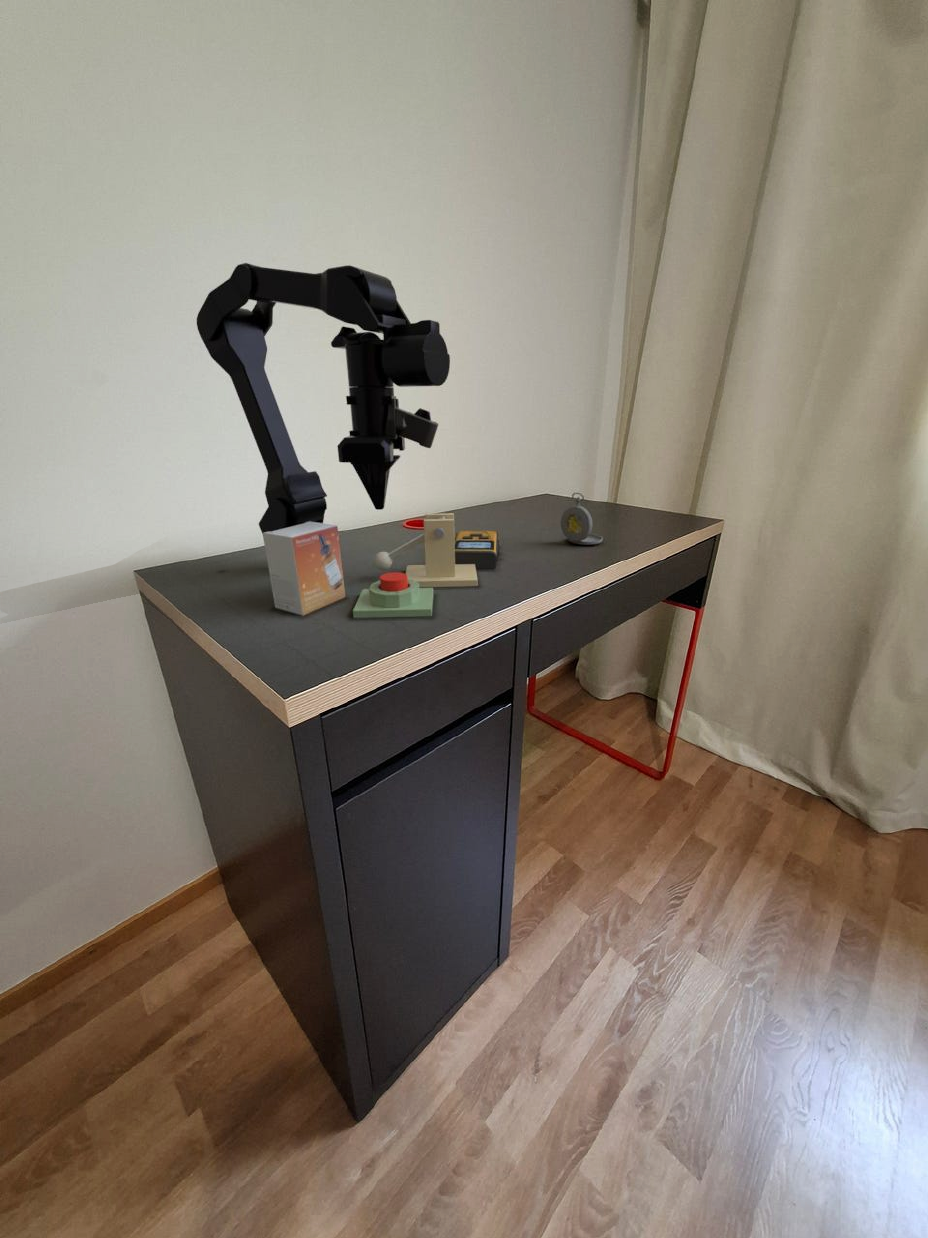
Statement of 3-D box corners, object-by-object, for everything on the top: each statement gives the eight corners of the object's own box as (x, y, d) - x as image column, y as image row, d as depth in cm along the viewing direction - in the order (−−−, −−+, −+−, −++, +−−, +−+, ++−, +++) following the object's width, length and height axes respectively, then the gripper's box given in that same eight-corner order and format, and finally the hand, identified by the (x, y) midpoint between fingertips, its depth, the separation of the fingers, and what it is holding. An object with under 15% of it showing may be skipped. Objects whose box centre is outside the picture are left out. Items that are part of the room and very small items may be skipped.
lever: (379, 575, 74) (369, 560, 73) (381, 569, 77) (371, 554, 76) (452, 534, 72) (442, 518, 71) (452, 530, 75) (443, 514, 74)
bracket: (403, 588, 72) (399, 523, 69) (407, 572, 80) (404, 512, 76) (477, 587, 73) (477, 522, 69) (474, 570, 80) (474, 510, 76)
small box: (302, 617, 63) (290, 537, 59) (274, 609, 66) (260, 532, 62) (347, 598, 69) (338, 524, 65) (319, 591, 72) (309, 520, 68)
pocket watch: (601, 538, 98) (607, 487, 94) (602, 550, 91) (608, 495, 87) (560, 537, 100) (563, 486, 96) (558, 547, 92) (561, 494, 88)
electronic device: (498, 546, 94) (499, 529, 93) (498, 571, 80) (498, 551, 79) (455, 546, 95) (455, 528, 94) (447, 570, 81) (447, 550, 79)
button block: (353, 619, 62) (351, 597, 61) (363, 597, 70) (361, 577, 68) (431, 617, 63) (430, 595, 61) (433, 595, 70) (432, 575, 69)
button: (379, 593, 63) (378, 581, 63) (382, 584, 67) (381, 572, 66) (407, 593, 63) (406, 580, 63) (409, 584, 67) (408, 571, 66)
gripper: (430, 385, 54) (433, 523, 61) (436, 389, 72) (438, 497, 78) (330, 385, 54) (344, 524, 61) (360, 389, 71) (369, 497, 78)
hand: (379, 509), depth 69 cm, fingers closed
